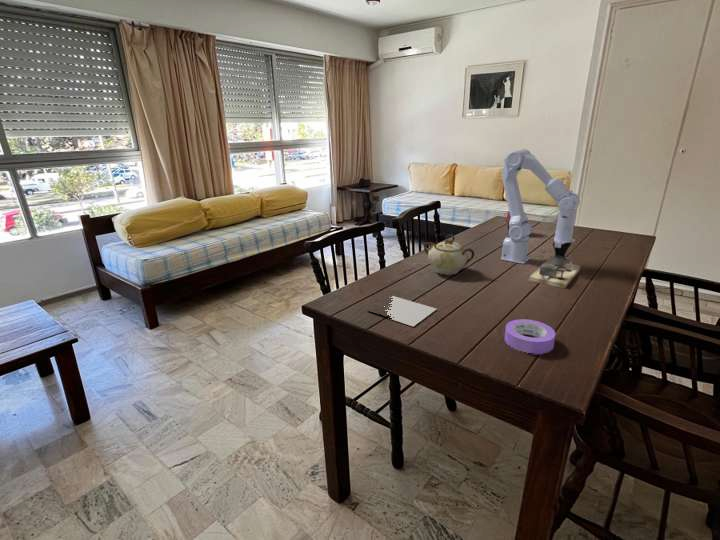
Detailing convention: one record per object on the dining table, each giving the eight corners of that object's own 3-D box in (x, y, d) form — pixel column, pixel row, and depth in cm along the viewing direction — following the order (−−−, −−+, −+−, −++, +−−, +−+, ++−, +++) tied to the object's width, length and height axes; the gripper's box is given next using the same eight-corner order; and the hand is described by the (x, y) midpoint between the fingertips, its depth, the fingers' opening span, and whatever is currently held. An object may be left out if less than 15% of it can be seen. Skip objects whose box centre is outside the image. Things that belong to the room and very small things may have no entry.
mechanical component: (522, 231, 199) (526, 236, 190) (502, 231, 201) (505, 236, 192) (525, 208, 194) (529, 212, 185) (504, 208, 196) (507, 212, 187)
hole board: (528, 280, 136) (530, 267, 134) (546, 263, 153) (548, 251, 151) (565, 288, 129) (567, 274, 127) (580, 269, 145) (582, 256, 144)
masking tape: (503, 350, 95) (505, 337, 94) (504, 328, 105) (506, 316, 104) (555, 358, 91) (557, 344, 90) (551, 335, 101) (553, 322, 100)
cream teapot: (477, 269, 148) (480, 232, 143) (466, 282, 136) (469, 242, 131) (430, 262, 158) (431, 227, 153) (415, 273, 146) (417, 236, 141)
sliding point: (548, 264, 145) (550, 256, 144) (551, 262, 147) (552, 254, 146) (570, 268, 140) (572, 260, 139) (572, 265, 142) (574, 257, 141)
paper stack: (407, 288, 133) (407, 286, 133) (475, 306, 118) (475, 304, 118) (366, 312, 116) (366, 310, 116) (439, 337, 101) (439, 335, 101)
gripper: (572, 232, 134) (566, 268, 139) (581, 224, 144) (575, 258, 149) (550, 229, 138) (545, 264, 143) (561, 222, 148) (555, 254, 153)
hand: (559, 261), depth 146 cm, fingers closed
